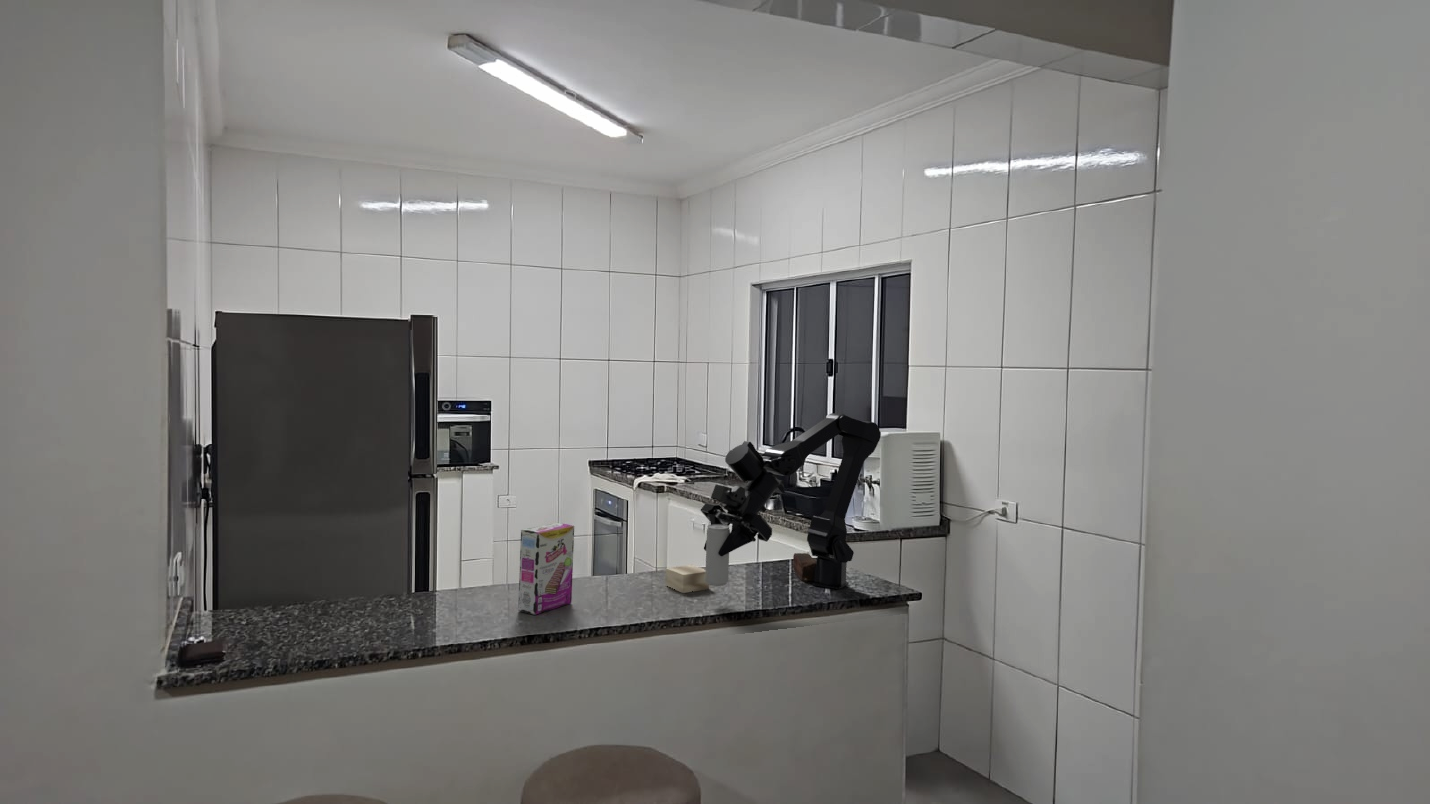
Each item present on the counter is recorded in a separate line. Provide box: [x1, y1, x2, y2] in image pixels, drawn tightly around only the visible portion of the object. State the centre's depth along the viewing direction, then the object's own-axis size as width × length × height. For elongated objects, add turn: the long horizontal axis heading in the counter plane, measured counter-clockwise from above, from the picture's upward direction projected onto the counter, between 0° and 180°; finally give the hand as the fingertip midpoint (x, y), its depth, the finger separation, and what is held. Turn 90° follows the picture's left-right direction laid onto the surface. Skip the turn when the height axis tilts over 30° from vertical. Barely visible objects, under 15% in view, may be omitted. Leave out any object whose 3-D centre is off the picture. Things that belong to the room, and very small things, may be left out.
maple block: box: [665, 564, 710, 594], centre depth 197 cm, size 7×7×4 cm
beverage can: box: [705, 524, 731, 587], centre depth 184 cm, size 5×5×12 cm
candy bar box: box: [517, 522, 575, 616], centre depth 178 cm, size 11×5×16 cm, turn 149°
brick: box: [792, 552, 816, 582], centre depth 211 cm, size 11×4×5 cm, turn 7°
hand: (712, 552), depth 183 cm, fingers closed on beverage can, 5 cm apart
